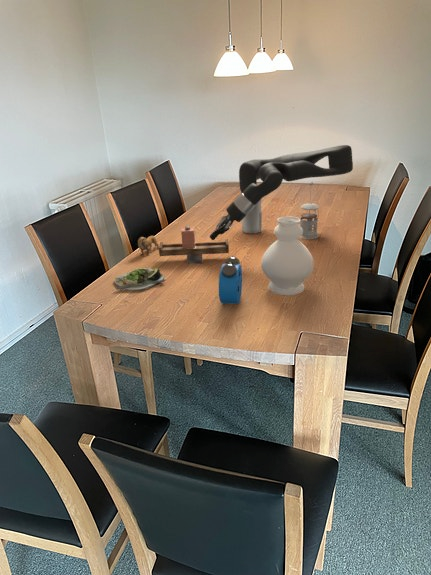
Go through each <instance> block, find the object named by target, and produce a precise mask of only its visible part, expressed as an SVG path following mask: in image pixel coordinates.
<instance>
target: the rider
mask: <svg viewBox="0 0 431 575" xmlns="http://www.w3.org/2000/svg"><path fill="white" fill-rule="evenodd" d="M180 232H181V234H180V235H181V243H182V247H183V249H186V248H195V243H196V237H195V236H196V234H195V227H191V226H189V225H188V226H185V227H181V231H180Z"/></svg>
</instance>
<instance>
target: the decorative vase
mask: <svg viewBox="0 0 431 575" xmlns="http://www.w3.org/2000/svg"><path fill="white" fill-rule="evenodd" d="M300 219H301V218H300V217H297V216H291V215H290V216H289V215H288V216H287V215H286V216H280V217H278V218H277V219H276V220H277V224H278V225H276V226H275V228H274V229H273V233H274V235H275V237H276V238H277V239H276V240H275V241H274V242H273V243H272V244H271V245H269V247H268V248H267V249H266V251H265V252H264V253H263V255H262V258H261V262H260V264H261V266H260V267H261V270H262V272H263V273H264V275H265V277H266V278H267V279H268V280H269V281H270V282H269V283H268V289H269V291H270V292H272V293H273V294H277V295H279V296H295V295H298V294H301V293H303V291H304V290H305V284H303V283H304V282H305V281H306V279H308V277H310V276H311V274H312V272H313V270H314V258H313V255H312V254H311V251H309V249H308V248H307V246H305V244H304V243H303V242H302V241H301V240H299V239H300V238H299V237H300V236H301V235H302V233H303V230H302V228H301V227H300Z"/></svg>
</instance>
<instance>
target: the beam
mask: <svg viewBox="0 0 431 575" xmlns="http://www.w3.org/2000/svg"><path fill="white" fill-rule="evenodd" d="M224 240H225V241H209V242H207V241H205V242H195V248H186V249H183V247H182V242H181V243H164V242H163V241H160V242H159V244H158V245H159V249H158V253H159V254H158V255H159V257H171V256H172V257H173V256H186V260H187V261H186V262H187V265H199V264H203V255H215V254H216V255H217V254H229V253H230V252H229V251H230V248H229V247H230V246H229V245H230V244H229V240H228V238H225V239H224Z"/></svg>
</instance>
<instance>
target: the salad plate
mask: <svg viewBox="0 0 431 575" xmlns="http://www.w3.org/2000/svg"><path fill="white" fill-rule="evenodd" d="M165 281H167V280H166V279H165V275H164V274H163V273H161V271H160V269H159V268H158V267H157V268H156V267H155V268H153V269H152V268H148V267H147V268H146V267H144V268H143V267H142V268H136V269H133V270H131V271H129V272H125V273H122V274H120V275H118V276H116V277H115V278H114V280H113V283H114V284H115V285H116V287H115V290H118V291H120V290H123V291H132V292H134V291H136V292H137V291H138V292H139V291H144V290H146V289H147V290H148V289H149V288H153V287H155V286H158V285H160V284H162V283H164V282H165ZM123 282H125V283H123Z"/></svg>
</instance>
